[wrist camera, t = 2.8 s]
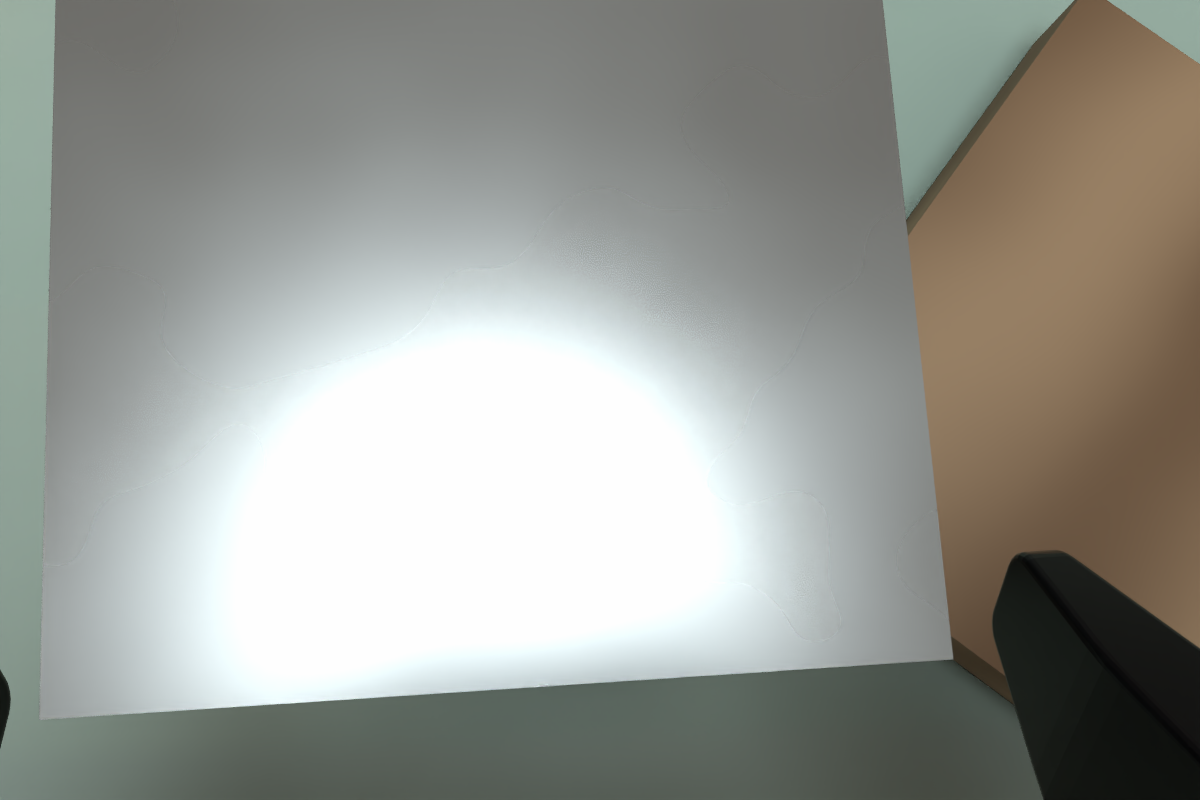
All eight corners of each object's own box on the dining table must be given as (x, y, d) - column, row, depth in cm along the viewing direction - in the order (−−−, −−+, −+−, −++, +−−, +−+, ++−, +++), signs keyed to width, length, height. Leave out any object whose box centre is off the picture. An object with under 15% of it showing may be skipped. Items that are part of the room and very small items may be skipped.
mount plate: (1546, 399, 19) (1662, 382, 17) (1262, 888, 17) (1352, 933, 15) (1034, 42, 20) (1086, -13, 18) (716, 483, 18) (735, 476, 16)
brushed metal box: (662, 312, 19) (866, -149, 6) (682, 597, 18) (959, 714, 5) (396, 325, 18) (58, -129, 6) (404, 614, 18) (38, 777, 5)
